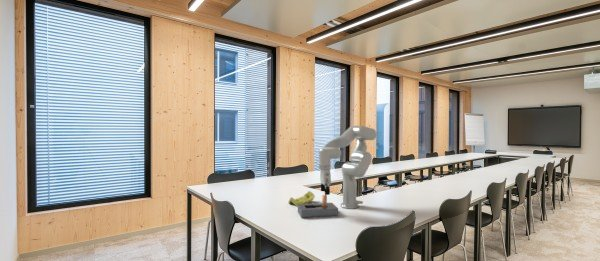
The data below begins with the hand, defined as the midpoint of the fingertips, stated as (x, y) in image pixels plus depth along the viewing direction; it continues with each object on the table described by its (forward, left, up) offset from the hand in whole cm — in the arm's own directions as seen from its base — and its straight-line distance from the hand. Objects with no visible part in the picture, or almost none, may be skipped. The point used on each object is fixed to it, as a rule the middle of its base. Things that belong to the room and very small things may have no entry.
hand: (325, 192), depth 187 cm
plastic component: (+10, -26, -14) cm, 31 cm away
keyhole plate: (+5, 0, -14) cm, 15 cm away
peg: (+1, 0, -13) cm, 13 cm away
